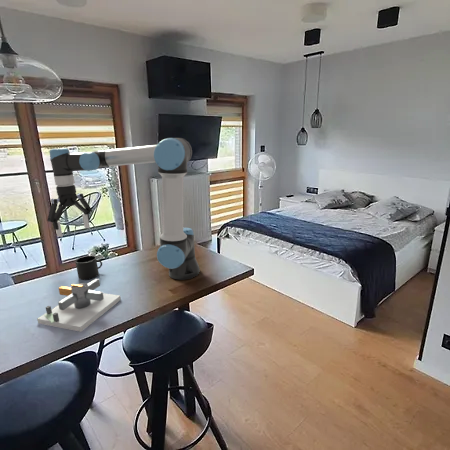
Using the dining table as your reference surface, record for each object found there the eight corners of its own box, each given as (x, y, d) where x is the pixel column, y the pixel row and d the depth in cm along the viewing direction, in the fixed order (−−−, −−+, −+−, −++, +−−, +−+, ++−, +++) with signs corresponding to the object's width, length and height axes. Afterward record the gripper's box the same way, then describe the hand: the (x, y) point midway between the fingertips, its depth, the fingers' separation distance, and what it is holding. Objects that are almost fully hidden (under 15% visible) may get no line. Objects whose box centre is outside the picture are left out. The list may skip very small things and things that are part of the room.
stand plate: (120, 299, 133) (119, 289, 131) (79, 333, 111) (76, 320, 110) (82, 294, 139) (80, 283, 138) (36, 324, 117) (33, 312, 116)
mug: (106, 274, 158) (103, 257, 155) (81, 282, 151) (78, 264, 148) (100, 269, 165) (97, 252, 162) (76, 275, 158) (73, 259, 155)
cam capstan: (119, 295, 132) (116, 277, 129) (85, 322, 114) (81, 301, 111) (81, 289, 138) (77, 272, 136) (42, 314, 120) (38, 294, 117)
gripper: (85, 180, 148) (92, 223, 154) (31, 189, 128) (42, 239, 134) (95, 181, 145) (102, 225, 151) (41, 190, 124) (52, 241, 130)
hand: (74, 231), depth 142 cm, fingers open, 13 cm apart
